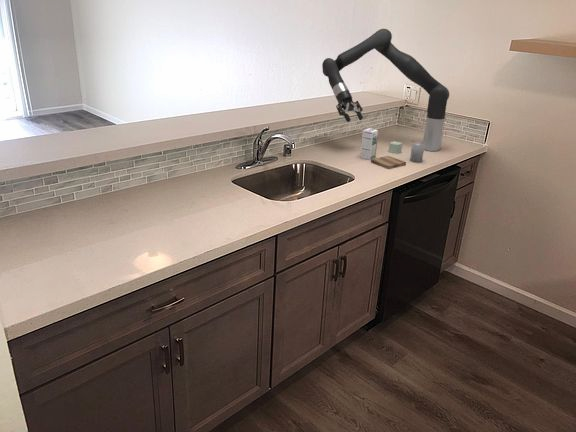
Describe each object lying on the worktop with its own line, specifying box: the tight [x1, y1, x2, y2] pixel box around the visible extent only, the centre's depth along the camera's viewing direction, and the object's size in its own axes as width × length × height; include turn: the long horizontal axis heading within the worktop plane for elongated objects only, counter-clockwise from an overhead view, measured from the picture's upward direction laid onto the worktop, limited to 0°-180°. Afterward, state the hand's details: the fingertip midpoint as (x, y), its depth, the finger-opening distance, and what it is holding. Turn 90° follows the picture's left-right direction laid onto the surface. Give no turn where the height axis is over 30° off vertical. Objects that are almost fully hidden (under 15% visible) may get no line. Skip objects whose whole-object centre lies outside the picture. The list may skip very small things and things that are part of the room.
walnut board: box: [370, 155, 407, 170], centre depth 234 cm, size 12×12×2 cm
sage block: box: [388, 140, 403, 155], centre depth 252 cm, size 5×5×5 cm
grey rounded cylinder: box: [409, 141, 425, 164], centre depth 238 cm, size 6×6×9 cm
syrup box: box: [360, 127, 379, 161], centre depth 239 cm, size 6×6×14 cm
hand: (355, 120), depth 243 cm, fingers open, 8 cm apart
